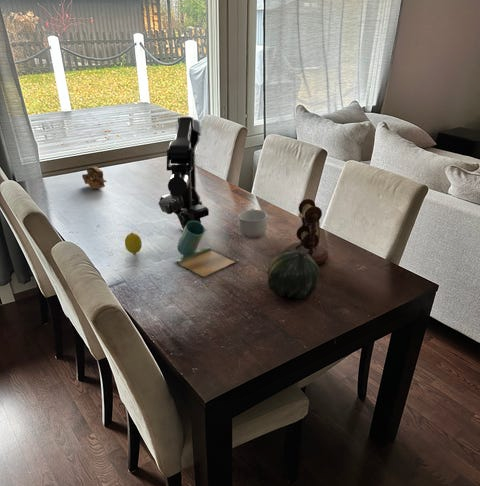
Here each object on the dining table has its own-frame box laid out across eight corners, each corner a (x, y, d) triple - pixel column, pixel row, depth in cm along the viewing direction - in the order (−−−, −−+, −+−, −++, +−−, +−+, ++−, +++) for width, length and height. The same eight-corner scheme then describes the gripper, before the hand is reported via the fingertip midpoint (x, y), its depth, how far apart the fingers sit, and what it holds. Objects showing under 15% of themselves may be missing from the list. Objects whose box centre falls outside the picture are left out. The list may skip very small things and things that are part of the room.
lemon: (145, 251, 151) (143, 230, 147) (137, 258, 147) (134, 237, 143) (131, 249, 153) (129, 228, 149) (123, 256, 149) (120, 234, 144)
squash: (267, 259, 135) (270, 240, 121) (314, 262, 135) (324, 243, 121) (265, 303, 131) (269, 289, 117) (314, 306, 131) (324, 292, 117)
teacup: (264, 241, 159) (265, 221, 155) (235, 238, 161) (235, 218, 157) (269, 226, 171) (270, 207, 166) (242, 224, 172) (243, 205, 168)
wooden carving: (80, 186, 210) (76, 165, 205) (88, 183, 213) (84, 163, 208) (103, 192, 202) (99, 171, 197) (110, 190, 205) (107, 169, 200)
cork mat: (176, 263, 144) (176, 260, 144) (208, 249, 153) (207, 246, 152) (203, 277, 137) (203, 274, 136) (235, 262, 145) (235, 259, 144)
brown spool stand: (333, 267, 143) (341, 209, 132) (290, 270, 141) (294, 212, 130) (319, 247, 155) (325, 193, 145) (279, 250, 153) (282, 195, 143)
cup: (173, 245, 149) (181, 223, 140) (187, 239, 153) (197, 218, 145) (184, 258, 147) (193, 238, 139) (198, 252, 151) (208, 232, 143)
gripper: (143, 183, 138) (148, 229, 147) (180, 198, 127) (184, 246, 136) (171, 176, 145) (175, 220, 153) (209, 189, 134) (210, 235, 142)
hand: (185, 230), depth 146 cm, fingers closed
